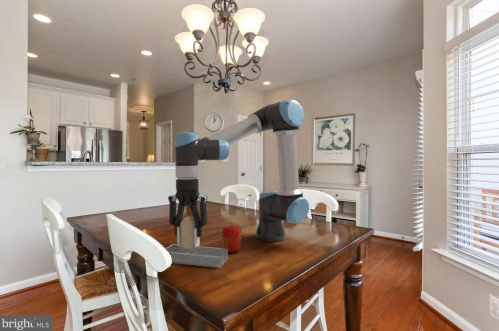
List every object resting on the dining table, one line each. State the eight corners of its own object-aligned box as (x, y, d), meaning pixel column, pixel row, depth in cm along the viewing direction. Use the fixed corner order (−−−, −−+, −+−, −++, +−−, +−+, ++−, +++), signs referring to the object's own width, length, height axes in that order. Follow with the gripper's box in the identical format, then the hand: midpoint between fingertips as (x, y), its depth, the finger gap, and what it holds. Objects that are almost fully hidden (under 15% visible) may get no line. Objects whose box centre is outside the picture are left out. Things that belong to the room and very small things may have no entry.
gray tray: (228, 258, 100) (228, 248, 100) (219, 268, 90) (219, 257, 90) (172, 252, 105) (172, 243, 105) (159, 261, 96) (159, 251, 96)
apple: (236, 255, 102) (236, 226, 102) (218, 252, 105) (218, 224, 105) (245, 248, 110) (245, 221, 110) (227, 246, 113) (227, 219, 113)
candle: (182, 243, 91) (182, 215, 90) (198, 242, 91) (197, 215, 91) (179, 249, 85) (178, 219, 85) (196, 248, 86) (195, 218, 85)
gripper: (216, 177, 88) (217, 243, 89) (168, 177, 93) (170, 240, 94) (208, 179, 81) (209, 251, 82) (156, 179, 85) (158, 247, 86)
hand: (188, 245), depth 88 cm, fingers closed on candle, 5 cm apart
